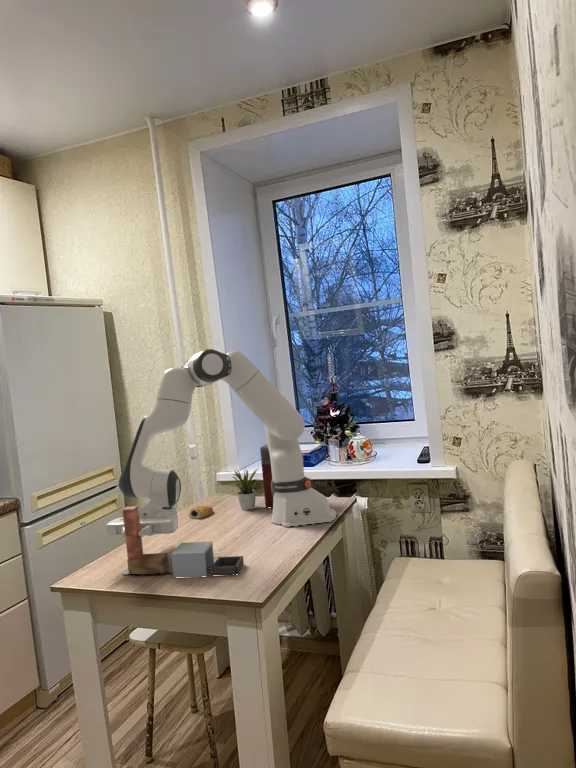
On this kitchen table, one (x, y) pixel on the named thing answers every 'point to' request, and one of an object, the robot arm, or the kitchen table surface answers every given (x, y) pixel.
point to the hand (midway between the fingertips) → (131, 534)
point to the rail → (164, 572)
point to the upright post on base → (140, 547)
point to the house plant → (246, 490)
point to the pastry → (200, 512)
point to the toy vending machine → (266, 475)
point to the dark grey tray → (227, 565)
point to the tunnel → (192, 559)
